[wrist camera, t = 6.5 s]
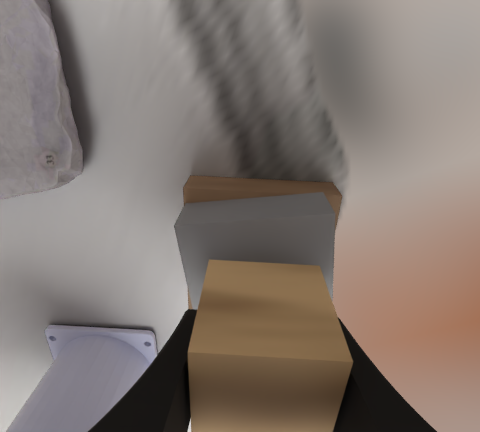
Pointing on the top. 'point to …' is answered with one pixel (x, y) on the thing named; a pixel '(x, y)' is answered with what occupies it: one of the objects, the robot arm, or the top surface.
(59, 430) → the robot arm
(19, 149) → the stone block
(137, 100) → the top surface
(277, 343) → the oak cube
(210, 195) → the bottom slab
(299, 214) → the top slab
